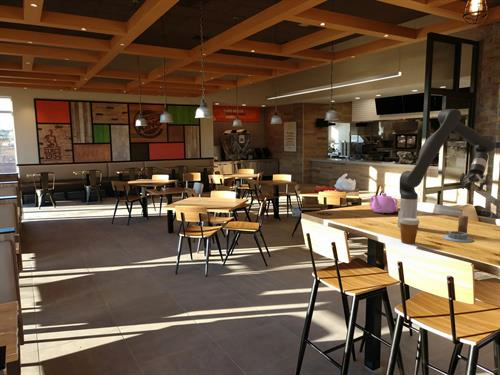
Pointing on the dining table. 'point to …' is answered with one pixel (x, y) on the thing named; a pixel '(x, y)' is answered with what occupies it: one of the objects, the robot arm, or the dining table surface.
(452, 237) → the ring socket
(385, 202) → the teapot
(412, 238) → the disposable coffee cup
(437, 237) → the dining table surface
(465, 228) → the walnut plug
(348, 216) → the dining table surface
